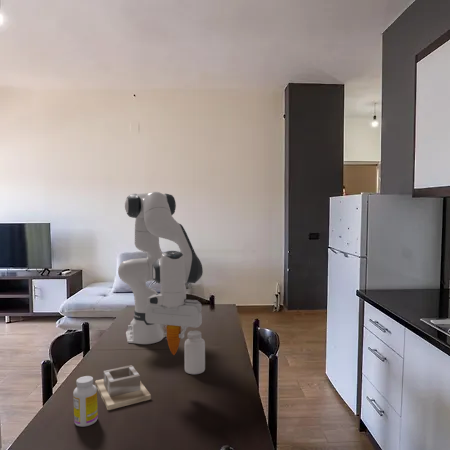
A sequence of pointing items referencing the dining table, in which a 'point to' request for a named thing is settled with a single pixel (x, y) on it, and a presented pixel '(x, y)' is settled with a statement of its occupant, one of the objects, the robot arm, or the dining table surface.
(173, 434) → the dining table surface
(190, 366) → the pill bottle
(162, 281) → the robot arm
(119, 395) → the anchor plate
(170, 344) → the carrot
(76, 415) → the supplement bottle
